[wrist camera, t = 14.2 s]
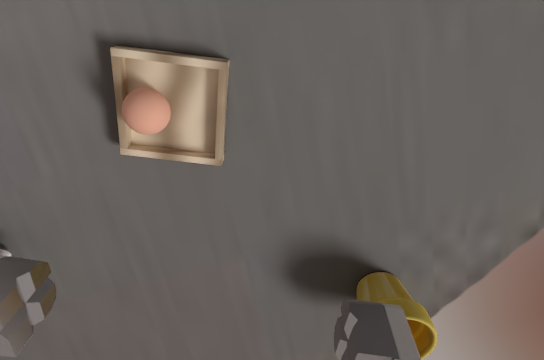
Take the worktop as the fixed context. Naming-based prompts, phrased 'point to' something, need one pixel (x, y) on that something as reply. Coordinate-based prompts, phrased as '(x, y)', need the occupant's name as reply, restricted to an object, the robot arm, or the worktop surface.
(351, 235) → the worktop surface
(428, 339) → the plant pot
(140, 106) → the coral ball
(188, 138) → the birch tray
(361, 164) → the worktop surface
